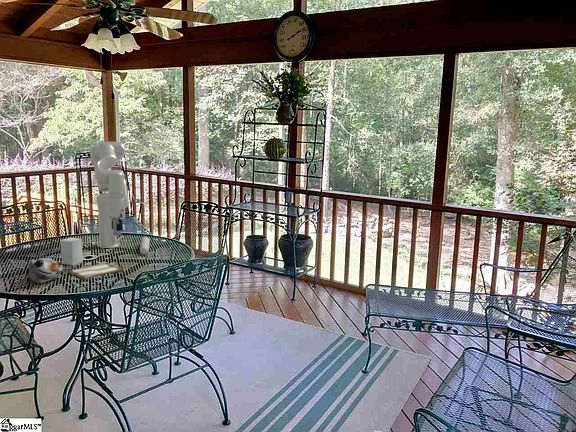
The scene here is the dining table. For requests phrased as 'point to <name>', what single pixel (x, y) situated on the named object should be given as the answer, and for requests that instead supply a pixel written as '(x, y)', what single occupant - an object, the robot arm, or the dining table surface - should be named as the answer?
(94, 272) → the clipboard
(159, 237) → the dining table surface
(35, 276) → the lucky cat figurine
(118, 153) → the robot arm
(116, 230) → the marker
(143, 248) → the tube
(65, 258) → the supplement box
